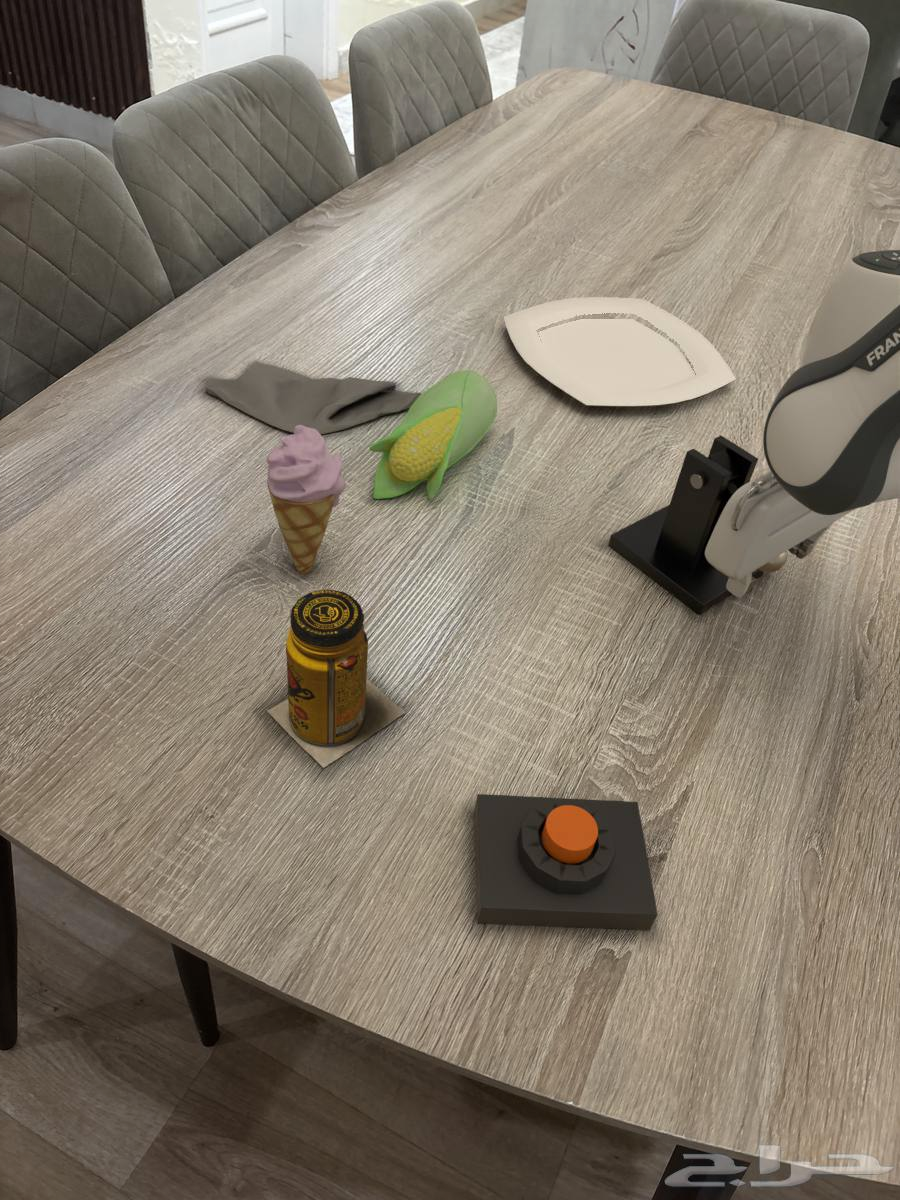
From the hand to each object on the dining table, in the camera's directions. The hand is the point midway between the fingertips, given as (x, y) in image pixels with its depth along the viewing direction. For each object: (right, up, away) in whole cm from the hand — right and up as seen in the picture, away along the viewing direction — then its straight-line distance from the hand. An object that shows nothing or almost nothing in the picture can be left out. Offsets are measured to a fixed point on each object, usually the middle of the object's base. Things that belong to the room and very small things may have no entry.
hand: (769, 571), depth 86 cm
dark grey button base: (-22, -22, -19) cm, 36 cm away
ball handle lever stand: (-6, +1, +8) cm, 10 cm away
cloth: (-45, +20, +21) cm, 53 cm away
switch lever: (-3, +5, +1) cm, 6 cm away
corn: (-31, +13, +16) cm, 37 cm away
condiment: (-39, -12, -10) cm, 42 cm away
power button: (-21, -19, -21) cm, 36 cm away
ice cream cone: (-43, 0, +1) cm, 43 cm away
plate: (-8, +28, +36) cm, 46 cm away
